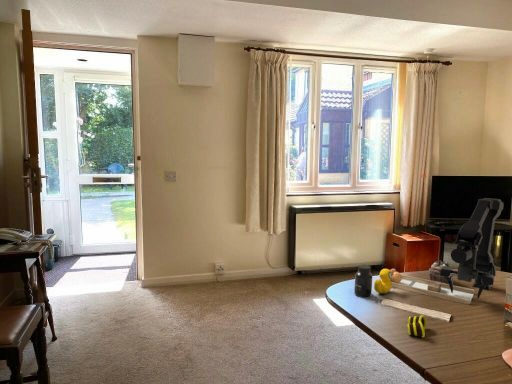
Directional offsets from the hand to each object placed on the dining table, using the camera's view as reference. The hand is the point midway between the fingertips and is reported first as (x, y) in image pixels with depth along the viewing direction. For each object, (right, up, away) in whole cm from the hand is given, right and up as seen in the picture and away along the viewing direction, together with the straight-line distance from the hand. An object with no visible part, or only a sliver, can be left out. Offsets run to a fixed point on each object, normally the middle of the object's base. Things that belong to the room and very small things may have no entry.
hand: (464, 295), depth 148 cm
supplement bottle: (-41, -1, +3) cm, 41 cm away
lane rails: (-11, 0, +8) cm, 14 cm away
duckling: (-31, 0, +5) cm, 32 cm away
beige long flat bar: (-25, -3, -11) cm, 28 cm away
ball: (-21, +5, +14) cm, 26 cm away
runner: (-11, 0, +8) cm, 14 cm away
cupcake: (-1, +1, +18) cm, 19 cm away
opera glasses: (-32, -4, -28) cm, 43 cm away
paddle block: (-11, +2, +8) cm, 13 cm away
